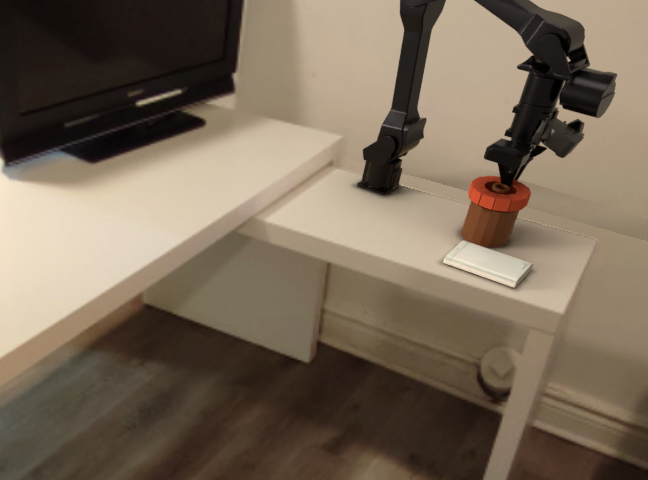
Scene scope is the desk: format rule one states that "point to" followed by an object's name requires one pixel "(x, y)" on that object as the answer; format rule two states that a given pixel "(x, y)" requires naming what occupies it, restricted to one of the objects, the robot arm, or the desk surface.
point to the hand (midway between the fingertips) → (508, 187)
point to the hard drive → (488, 263)
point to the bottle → (489, 223)
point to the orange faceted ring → (498, 202)
